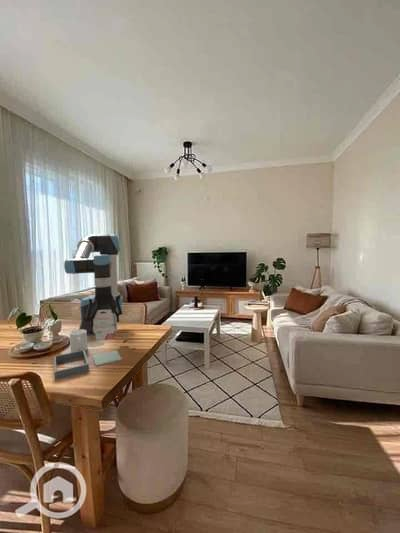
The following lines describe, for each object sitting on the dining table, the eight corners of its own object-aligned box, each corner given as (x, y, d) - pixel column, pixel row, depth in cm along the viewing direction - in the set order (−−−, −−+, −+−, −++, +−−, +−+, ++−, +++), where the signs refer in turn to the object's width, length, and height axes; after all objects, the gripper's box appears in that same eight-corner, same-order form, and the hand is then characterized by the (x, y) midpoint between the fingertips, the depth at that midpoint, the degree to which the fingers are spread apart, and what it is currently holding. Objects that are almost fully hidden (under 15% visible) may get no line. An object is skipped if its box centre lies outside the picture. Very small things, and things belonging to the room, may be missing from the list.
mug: (88, 353, 132) (87, 334, 131) (71, 357, 128) (70, 337, 127) (86, 346, 142) (85, 328, 141) (70, 349, 138) (69, 331, 137)
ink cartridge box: (115, 335, 127) (114, 307, 126) (113, 339, 122) (111, 309, 121) (98, 336, 126) (97, 307, 125) (95, 339, 121) (93, 310, 120)
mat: (92, 357, 127) (92, 355, 127) (116, 351, 133) (116, 350, 133) (95, 366, 117) (95, 365, 117) (121, 360, 123) (121, 358, 123)
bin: (54, 363, 122) (54, 356, 121) (84, 356, 128) (84, 349, 128) (54, 380, 106) (54, 372, 105) (89, 371, 112) (88, 364, 112)
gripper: (78, 289, 113) (81, 337, 115) (127, 284, 124) (129, 328, 126) (77, 287, 120) (80, 332, 121) (124, 283, 131) (126, 324, 133)
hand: (105, 330), depth 124 cm, fingers closed on ink cartridge box, 9 cm apart
